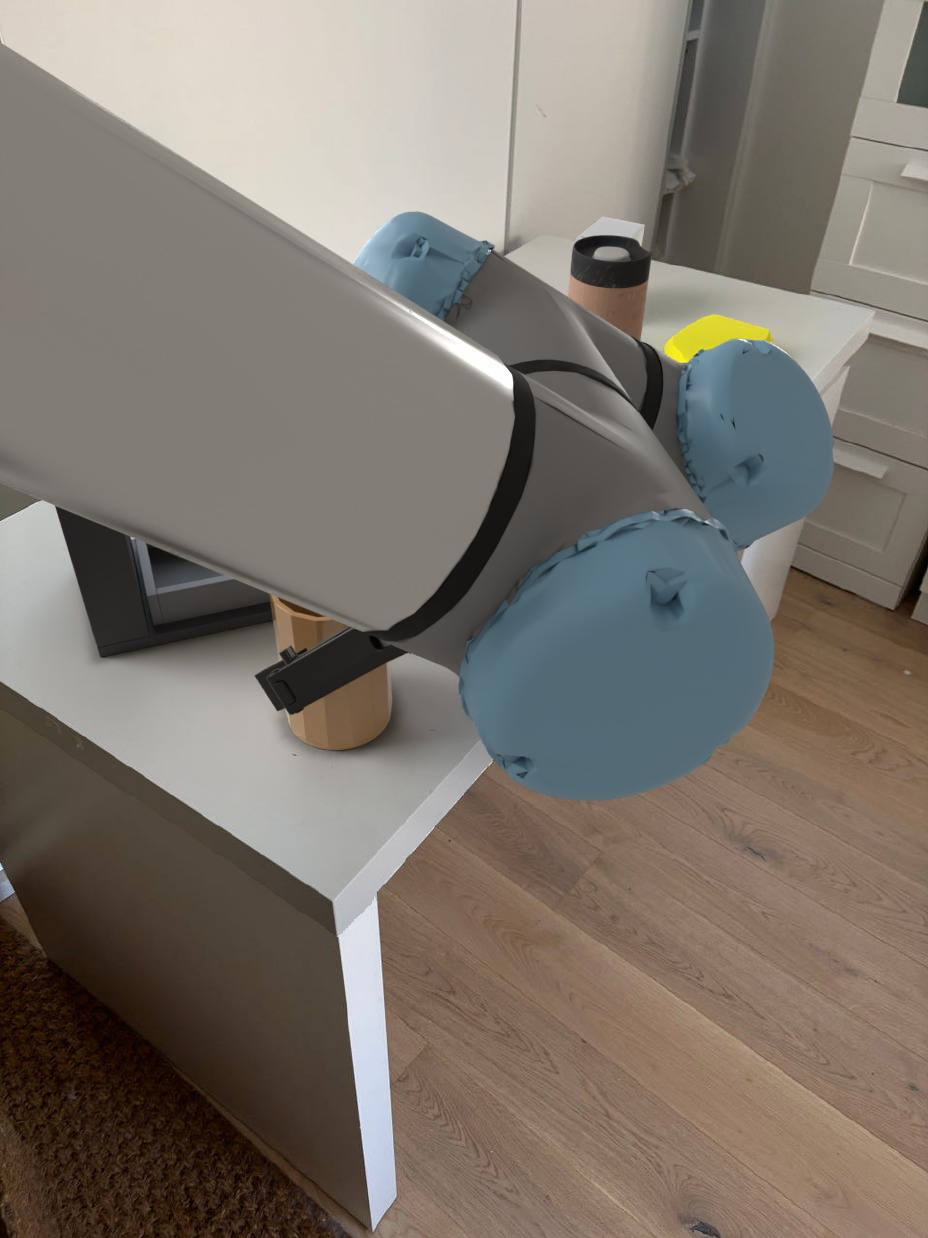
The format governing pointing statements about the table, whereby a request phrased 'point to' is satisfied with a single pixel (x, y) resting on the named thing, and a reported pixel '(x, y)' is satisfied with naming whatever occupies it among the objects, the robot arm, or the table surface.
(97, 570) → the coffee maker
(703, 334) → the spray bottle
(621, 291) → the travel mug
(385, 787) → the table surface
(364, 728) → the cup
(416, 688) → the table surface
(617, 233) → the cosmetics box
